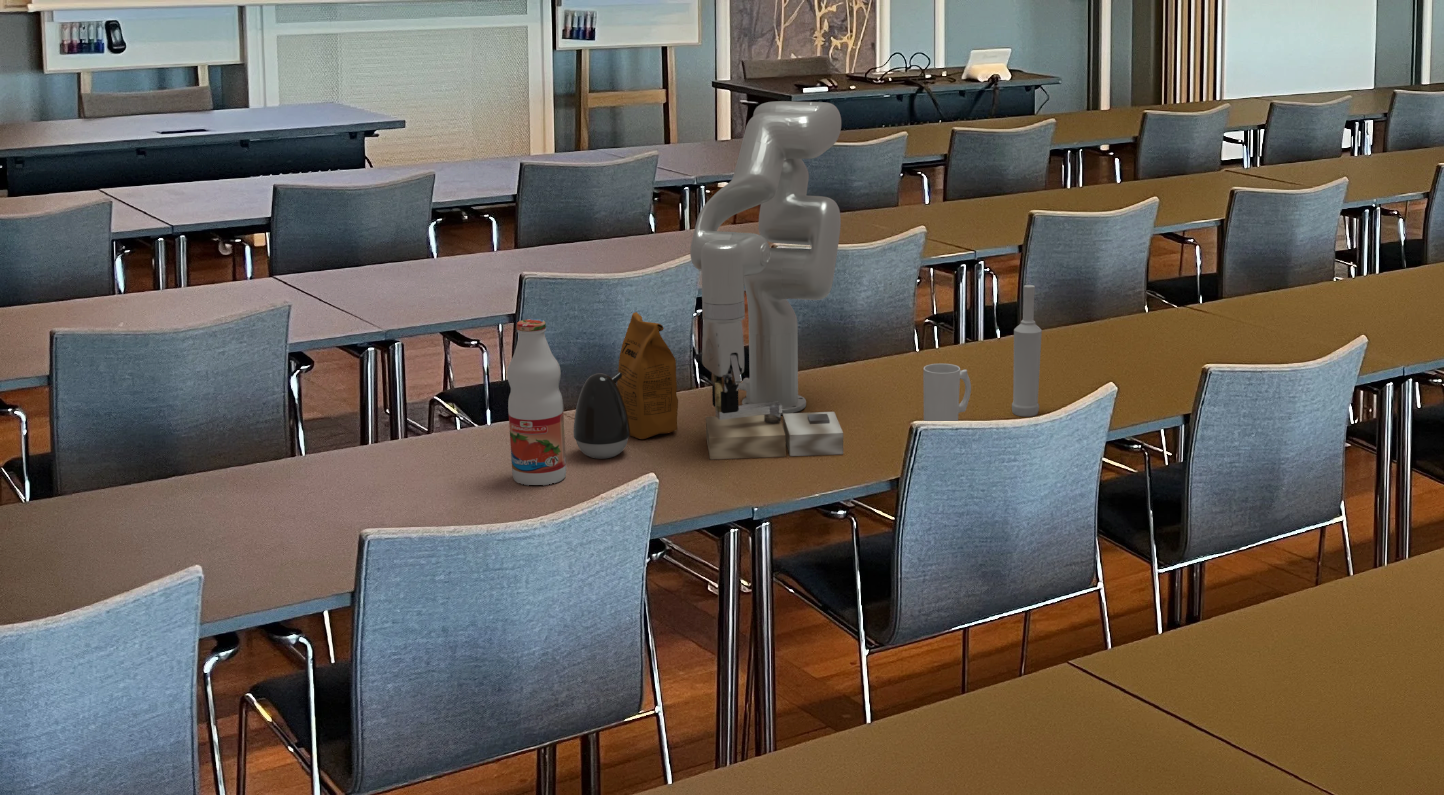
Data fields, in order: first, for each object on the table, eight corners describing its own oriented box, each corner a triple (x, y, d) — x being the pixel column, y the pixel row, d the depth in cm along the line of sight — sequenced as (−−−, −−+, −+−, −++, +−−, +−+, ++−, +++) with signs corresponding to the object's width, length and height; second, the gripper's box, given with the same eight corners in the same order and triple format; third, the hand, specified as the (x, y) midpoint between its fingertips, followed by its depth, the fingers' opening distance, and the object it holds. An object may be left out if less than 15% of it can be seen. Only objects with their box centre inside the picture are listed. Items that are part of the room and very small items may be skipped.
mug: (936, 437, 306) (937, 375, 303) (915, 428, 312) (916, 366, 309) (980, 428, 311) (982, 367, 308) (959, 419, 317) (960, 359, 313)
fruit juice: (576, 472, 292) (568, 317, 284) (551, 489, 284) (542, 330, 276) (528, 466, 295) (519, 313, 287) (502, 483, 287) (492, 326, 279)
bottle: (1042, 411, 321) (1047, 284, 314) (1032, 418, 317) (1036, 290, 309) (1017, 407, 323) (1021, 282, 316) (1007, 414, 319) (1010, 287, 312)
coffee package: (659, 417, 322) (655, 307, 316) (684, 435, 311) (681, 321, 305) (611, 425, 318) (606, 313, 312) (634, 443, 307) (630, 327, 301)
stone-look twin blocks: (709, 459, 297) (709, 434, 296) (706, 437, 310) (705, 413, 308) (843, 454, 298) (843, 429, 297) (834, 432, 311) (834, 408, 310)
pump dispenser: (643, 452, 302) (640, 372, 297) (601, 467, 294) (597, 384, 290) (605, 441, 308) (601, 362, 304) (562, 455, 301) (558, 374, 297)
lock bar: (776, 417, 306) (776, 374, 304) (783, 422, 303) (783, 379, 301) (713, 424, 303) (712, 381, 300) (719, 430, 299) (718, 386, 297)
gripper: (688, 302, 302) (690, 399, 307) (719, 322, 287) (721, 424, 292) (727, 298, 304) (728, 394, 309) (760, 318, 289) (761, 418, 294)
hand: (725, 407), depth 301 cm, fingers closed on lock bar, 3 cm apart
